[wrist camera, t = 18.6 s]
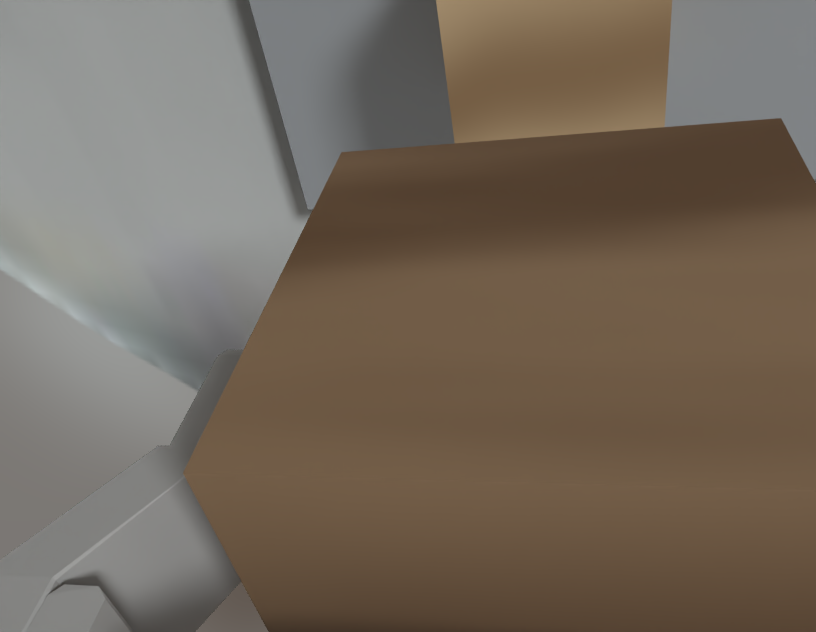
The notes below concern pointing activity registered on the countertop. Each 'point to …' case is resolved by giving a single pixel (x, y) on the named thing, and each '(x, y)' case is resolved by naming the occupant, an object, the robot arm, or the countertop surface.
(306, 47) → the board
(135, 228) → the countertop surface
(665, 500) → the walnut block
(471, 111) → the maple block
